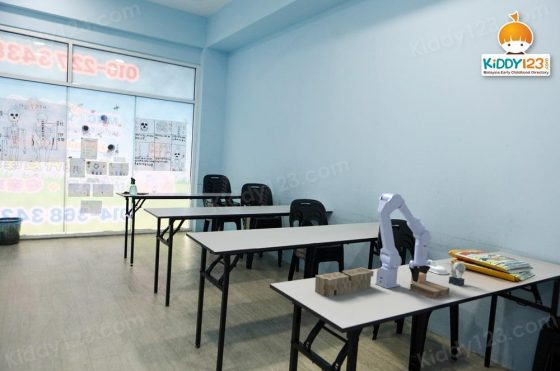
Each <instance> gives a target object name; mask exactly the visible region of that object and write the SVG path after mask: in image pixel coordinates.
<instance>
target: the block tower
mask: <svg viewBox="0 0 560 371" xmlns="http://www.w3.org/2000/svg"><path fill="white" fill-rule="evenodd" d="M374 274H375V273H374V270H372V269H368V268H365V267H361V266H360V267H357V268H353V269H351V268H350V269H347V270H345V269H344V270H342V271H341V272H340V271H336V272H330V273H328V272H327V273H321V274H315V281H314V286H315V288H314V292H315V294H316V293H317V294H319V295H321V296H326V297H330V296H331V297H334V296H338V295H339V296H340V295H344V294H349V293H353V292H358V291H363V290H367V289H370V288H371V284H372V278H373V277H374Z"/></svg>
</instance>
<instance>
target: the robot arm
mask: <svg viewBox="0 0 560 371" xmlns="http://www.w3.org/2000/svg"><path fill="white" fill-rule="evenodd" d="M378 201H379V204H378V207H377V212H376V213H377V219H378V224H379V230H380V236H381V243H382V248H380V249H379V250H380V254H379V260H380V262H381V265H382V266H381V267H379V268H377V270H376V279H375V280H376V281H375V282H374V284H375V285H377V286H380V287H383V288H385V289H391V288H396V287H400V286H401V284H399V283H398V282H397V280H398V271H399V270H398V269H399V267H400V266H401V264H402V257H401V256H400V254H399V251H398V249H397V248H396V246H395V239H394V232H393V228H392V227H393V226H392V225H393V224H392V220H391V214H392V213H393V212H395V210H397V209H398V211H399V212H400V213H401V215H402V216H403V217H404V218H405V220H406V224H407V227H408V228H409V229H410V230H411V232H412V236H413V238H415V244H414V255H413V257H414V258H413V260H412V261H413V262H411V263H410V262H409V263H408V269H409V271H410V273H411V274H412V279H413V281H415V282H417V281H418V276H419V272H421V273H424V274H427V275H428V272H429V271H428V270H429V269H430V266H428V265H431V261H428V260H429V259H428V260H427V257H428V248H429V247H428V245H429V242H430V240H431V239H432V235H431V232H430V231H429V230H427V229H426V227H425V225H423V224H422V222H421V219H420V218H419V217H417V216H414V215H413V214H412V212H411V210H410V209H409V207H408V206H407V204H406V202H405V201H406V200H405V199H404V198H403V197H402V195H401V194H399V193H392V192H391V193H390V192H387V191H385V192H383V193H382V194H381V195H380V197H379V198H378ZM418 266H419V268H418Z"/></svg>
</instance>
